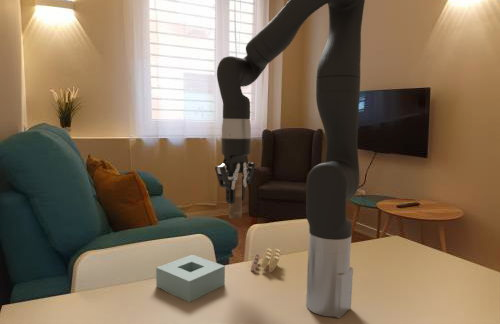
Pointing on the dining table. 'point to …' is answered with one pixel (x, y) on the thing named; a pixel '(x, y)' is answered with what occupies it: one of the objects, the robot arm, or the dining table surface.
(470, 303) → the dining table surface
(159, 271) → the socket block
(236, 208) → the peg
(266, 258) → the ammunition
